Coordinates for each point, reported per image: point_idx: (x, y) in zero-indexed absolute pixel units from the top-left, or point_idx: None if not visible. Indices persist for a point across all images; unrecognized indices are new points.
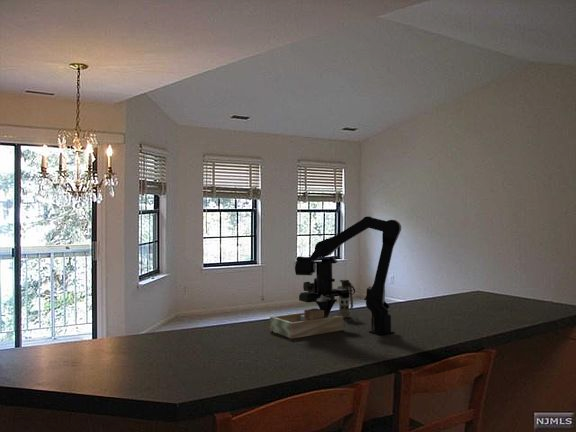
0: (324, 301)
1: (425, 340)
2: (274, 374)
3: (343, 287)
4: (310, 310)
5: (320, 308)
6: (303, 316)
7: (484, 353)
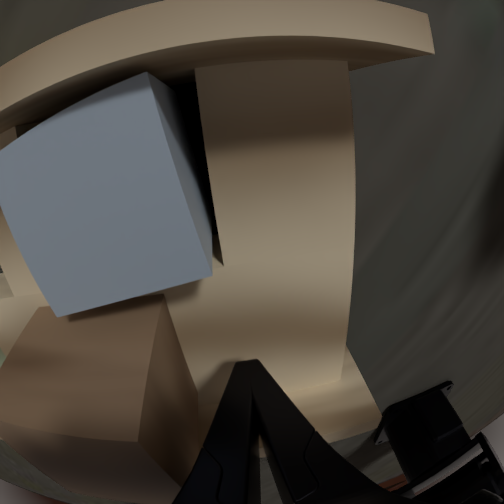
0: None
1: (397, 464)
2: (25, 482)
3: None
4: (49, 468)
5: (199, 478)
6: (10, 229)
7: None
